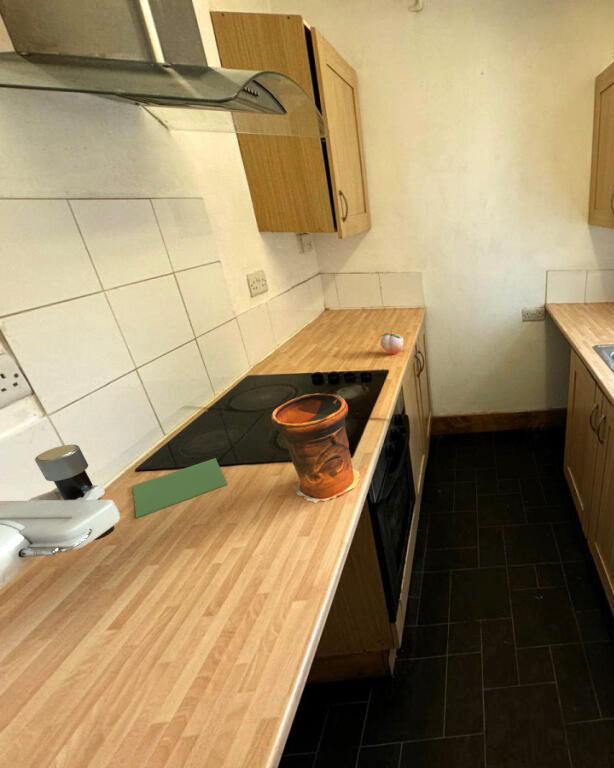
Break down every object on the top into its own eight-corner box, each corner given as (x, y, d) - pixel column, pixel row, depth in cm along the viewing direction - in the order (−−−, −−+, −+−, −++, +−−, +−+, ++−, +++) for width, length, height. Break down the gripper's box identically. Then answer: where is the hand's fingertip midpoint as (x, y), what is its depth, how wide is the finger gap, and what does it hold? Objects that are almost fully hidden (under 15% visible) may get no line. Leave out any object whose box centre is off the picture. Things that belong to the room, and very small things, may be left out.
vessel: (312, 516, 85) (289, 431, 76) (282, 487, 93) (258, 408, 85) (374, 482, 95) (359, 404, 86) (342, 459, 103) (326, 386, 95)
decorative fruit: (408, 351, 175) (406, 328, 171) (401, 358, 168) (398, 334, 164) (387, 350, 177) (384, 327, 173) (379, 357, 169) (375, 333, 165)
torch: (80, 548, 67) (32, 465, 60) (81, 532, 70) (36, 451, 63) (119, 533, 70) (77, 452, 63) (119, 518, 73) (79, 440, 66)
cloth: (136, 518, 85) (136, 517, 85) (133, 486, 94) (132, 485, 94) (227, 484, 94) (226, 483, 94) (216, 458, 104) (215, 457, 104)
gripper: (54, 536, 53) (140, 471, 66) (-107, 538, 53) (11, 473, 66) (76, 572, 56) (155, 503, 69) (-78, 574, 56) (30, 505, 68)
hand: (83, 488), depth 67 cm, fingers closed on torch, 3 cm apart
